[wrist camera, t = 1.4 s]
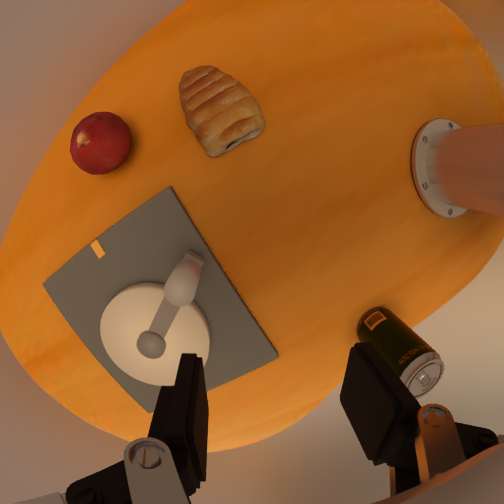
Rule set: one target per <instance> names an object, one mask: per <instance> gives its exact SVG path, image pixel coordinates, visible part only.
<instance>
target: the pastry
mask: <svg viewBox="0 0 504 504" xmlns="http://www.w3.org/2000/svg"><path fill="white" fill-rule="evenodd" d="M179 90H180V94H181V96H180V99H181V105H182V107H183V110H184V112H185V114H186V124H187V125H188V126H189V127H190V128H191V129H192V130H193V131H194V133H195V135H196V137H197V139H198V141H199V142H200V143H201V144H202V145H203V147H204V148H205V149H206V153H207V155H209V156H210V157H217V156H219V155H221V154H222V153H224V152H227V151H230V150H231V149H233V148H234V147H235V146H237V145H238V144H240V143H241V142H242V141H244V140H250V139H252V138H254V137H255V136H257V135H259V134H260V133H261V132H262V130H263V129H264V126H265V120H264V118H263V116H262V110H261V108H260V106H259V104H258V103H257V101H256V100H255V98H254V97H253V96H252V95H251V94H250V93H249V91H248V90H247V88H246V87H244V86H243V85H242V84H241V83H240V82H239V81H237V80H235V79H233V78H232V77H231V76H230V75H227V74H225V73H223V72H222V71H220V70H219V69H218V68H216V67H213V66H200V67H197V68H195V69H193V70H189V71H186V72H185V73H184V74H183V76H182V79H181V82H180V84H179Z"/></svg>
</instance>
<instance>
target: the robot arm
mask: <svg viewBox="0 0 504 504" xmlns="http://www.w3.org/2000/svg"><path fill="white" fill-rule="evenodd" d="M412 173H413V178H414V182H415V185H416V188H417V191H418V193H419V195H420V197H421V199H422V200H423V202H424V203H425V205H426V206H427V207H428V208H429V209H430V210H431V211H432V212H434V213H435V214H437V215H439V216H443V217H447V218H455V217H458V216H460V215H462V214H464V213H465V212H466V211H467V210H468V209H470V210H474V211H479V212H484V213H488V214H492V215H497V216H501V217H504V124H496V125H485V126H476V127H467V128H461V127H460V126H459V125H458V124H457V123H455V122H453V121H451V120H448V119H435V120H432V121H430V122H427V123H426V124H425V125H424V126H423V127H422V128H421V129H420V131H419V132H418V134H417V136H416V138H415V141H414V145H413V149H412ZM340 402H341V404H342V406H343V409H344V411H345V413H346V415H347V417H348V419H349V421H350V423H351V425H352V427H353V429H354V431H355V433H356V435H357V438H358V440H359V442H360V444H361V446H362V448H363V450H364V452H365V454H366V457H367V458H368V460H372V461H373V463H374V465H375V466H376V465H379V464H383V463H387V465H388V466H389V474H390V497H389V498H386V499H384V500H381V501H378V502H375V503H372V504H504V435H498V436H496V434H495V433H494V432H493V431H491V430H489V429H486V428H481V427H476V426H472V425H467V424H462V423H457V422H454V420H453V417H452V415H451V412H450V411H449V410H448V409H447V408H445V407H444V406H442V405H439V404H427V405H425V406H423V407H421V406H420V404H419V402H418V401H417V400H416V398H415V397H414V396H413V394H412V393H411V392H410V391H409V389H408V388H407V387H406V386H405V384H404V383H403V382H402V380H401V379H400V378H399V377H398V375H397V374H396V373H395V372H394V370H393V369H392V368H391V367H390V365H389V364H388V363H387V362H386V361H385V359H384V358H383V357H382V356H381V354H380V353H379V352H378V351H377V349H376V348H375V347H374V346H373V345H372V343H371V342H369V341H366V342H360V343H356V344H355V345H354V347H352V348H351V349H350V354H349V358H348V363H347V368H346V372H345V377H344V381H343V385H342V389H341V393H340ZM208 417H209V409H208V400H207V392H206V384H205V376H204V367H203V359H202V357H197V354H196V353H182V354H181V358H180V362H179V366H178V370H177V375H176V379H175V383H174V386H161V389H160V392H159V395H158V399H157V403H156V406H155V410H154V414H153V418H152V422H151V425H150V429H149V433H148V437H147V438H140V439H136V440H134V441H132V442H131V443H130V444H128V446H126V448H125V450H124V460H122V461H120V462H118V463H116V464H114V465H112V466H110V467H108V468H106V469H103V470H101V471H99V472H97V473H94V474H92V475H90V476H87V477H85V478H83V479H80V480H78V481H75V482H74V483H72V484H71V485H70V486H69V487H68V488H67V491H66V493H63V494H60V493H59V492H56V493H53V494H49V495H45V496H42V497H38V498H34V499H30V500H26V501H22V502H17V503H15V504H191V501H190V499H189V496H191V495H192V494H194V493H195V492H196V488H200V481H206V462H207V437H208Z"/></svg>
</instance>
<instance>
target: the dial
mask: <svg viewBox="0 0 504 504" xmlns="http://www.w3.org/2000/svg"><path fill="white" fill-rule="evenodd" d="M204 261H205V259H204V258H202V257H201V256H199V255H197V254H195V253H193V252H191V251H189V250H188V251H187V252H186V254H185V256H184V257H182V258H181V259H180V260H179V261H178V263H177V265H176V266H175V268H174V270H173V271H172V273H171V275H170V276H169V278H168V280H167V282H166V283H165V285H164V284H160V283H152V282H145V283H138V284H134V285H131V286H129V287H127V288H125V289H123V290H122V291H121V292H119V293H118V294H117V295H116V296H115V297H114V298H113V300H112V301H111V302H110V303H109V304H108V305H107V307H106V308H105V310H104V312H103V315H102V318H101V323H100V334H101V339H102V342H103V345H104V348H105V350H106V352H107V353H108V355H109V357H110V358H111V359H112V360H113V362H114V363H115V364H116V365H117V366H118V367H119V368H120V369H121V370H122V371H124V372H125V373H127V374H128V375H129V376H131V377H133V378H135V379H137V380H139V381H141V382H144V383H148V384H152V385H158V386H172V385H174V383H175V379H176V375H177V370H178V366H179V362H180V358H181V354H182V353H196V354H197V357H202V359H203V367H204V365H205V364H206V361H207V358H208V354H209V346H210V330H209V326H208V323H207V320H206V318H205V316H204V314H203V312H202V311H201V309H200V308H199V307H198V306H197V304H196V303H195V302H194V301H193V299H194V296H195V293H196V289H197V286H198V282H199V278H200V275H201V271H202V265H203V263H204Z"/></svg>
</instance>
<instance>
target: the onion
mask: <svg viewBox="0 0 504 504" xmlns="http://www.w3.org/2000/svg"><path fill="white" fill-rule="evenodd" d="M130 143H131V135H130V131H129V128H128V126H127V124H126V123H125V122H124V121H123V120H122V119H121V118H120V117H119V116H117V115H115V114H113V113H110V112H96V113H93V114H91V115H89V116H87V117H85V118H83V119H82V120H81V121H80V123H79V124H78V125H77V126H76V127H75V128H74V130H73V134H72V138H71V145H70V152H71V156H72V159H73V161H74V162H75V163H76V164H77V166H78V167H79V168H80V169H82V170H83V171H85V172H87V173H89V174H93V175H97V174H106V173H109V172H111V171H113V170H115V169H116V168H117V167H118V166H119V165H120V164H121V163H122V162H123V161H124V160H125V158H126V156H127V154H128V152H129V150H130Z"/></svg>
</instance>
